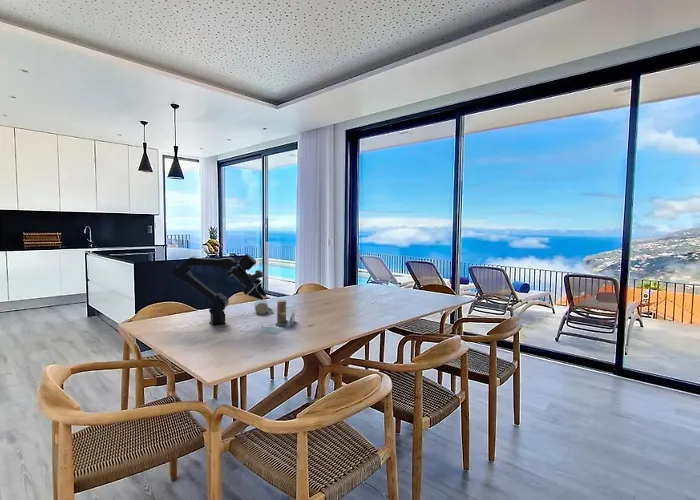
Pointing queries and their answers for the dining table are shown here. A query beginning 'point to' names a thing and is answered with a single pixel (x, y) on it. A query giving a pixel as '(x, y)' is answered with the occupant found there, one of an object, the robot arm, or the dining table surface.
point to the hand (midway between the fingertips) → (264, 297)
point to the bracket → (287, 322)
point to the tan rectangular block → (281, 311)
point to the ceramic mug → (262, 307)
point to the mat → (273, 330)
